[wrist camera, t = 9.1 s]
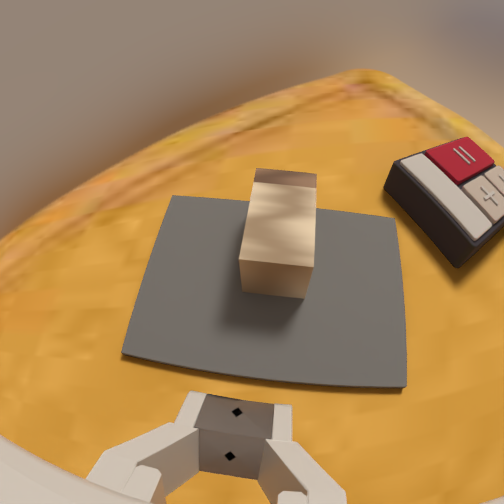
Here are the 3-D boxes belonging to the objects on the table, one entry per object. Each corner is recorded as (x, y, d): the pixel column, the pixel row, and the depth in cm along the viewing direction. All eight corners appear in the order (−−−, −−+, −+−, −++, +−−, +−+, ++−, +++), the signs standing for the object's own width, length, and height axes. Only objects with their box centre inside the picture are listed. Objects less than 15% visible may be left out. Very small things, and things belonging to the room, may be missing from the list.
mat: (124, 354, 21) (121, 352, 21) (173, 199, 29) (172, 195, 29) (403, 388, 20) (406, 386, 19) (392, 222, 27) (394, 218, 27)
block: (238, 259, 20) (256, 168, 24) (242, 291, 23) (256, 206, 28) (313, 267, 19) (316, 174, 24) (304, 298, 23) (309, 212, 27)
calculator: (530, 193, 26) (479, 243, 21) (513, 217, 29) (455, 271, 25) (466, 131, 31) (394, 154, 26) (454, 157, 34) (380, 187, 30)
